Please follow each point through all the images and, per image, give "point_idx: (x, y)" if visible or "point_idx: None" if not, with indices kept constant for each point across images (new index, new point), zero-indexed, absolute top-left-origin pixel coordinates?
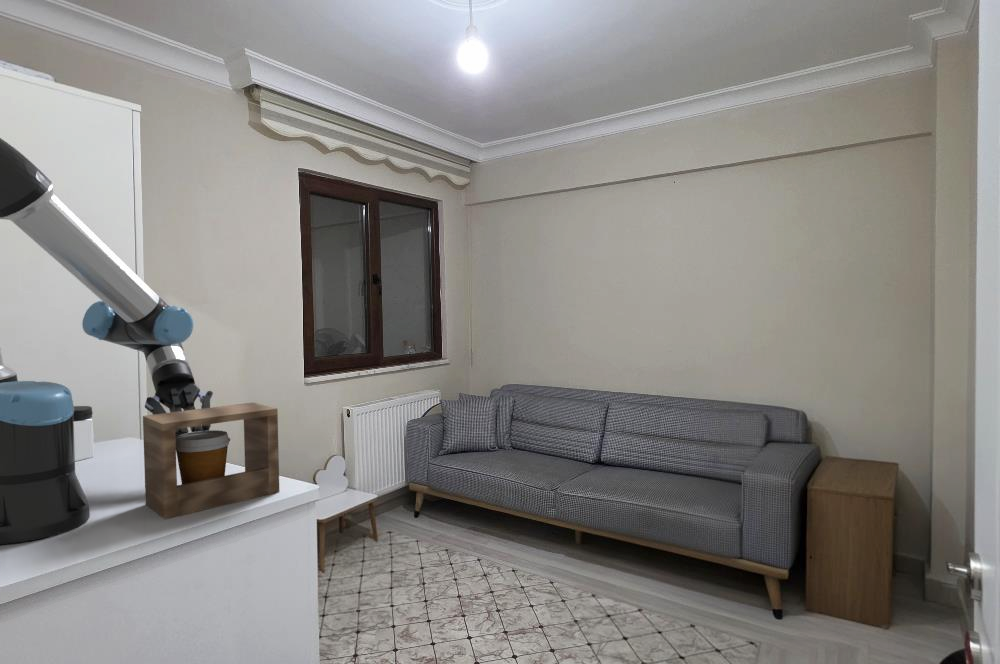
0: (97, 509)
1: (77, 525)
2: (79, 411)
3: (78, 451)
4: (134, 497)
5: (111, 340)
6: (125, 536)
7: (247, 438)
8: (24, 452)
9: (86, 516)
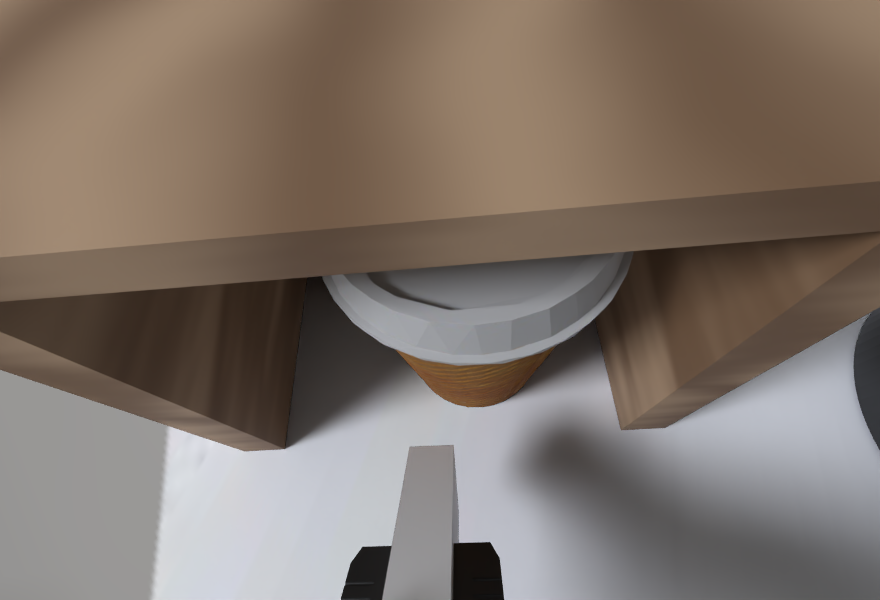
0: (854, 502)
1: (870, 314)
2: None
3: None
4: (717, 588)
5: None
6: None
7: (170, 345)
8: None
9: (866, 349)
